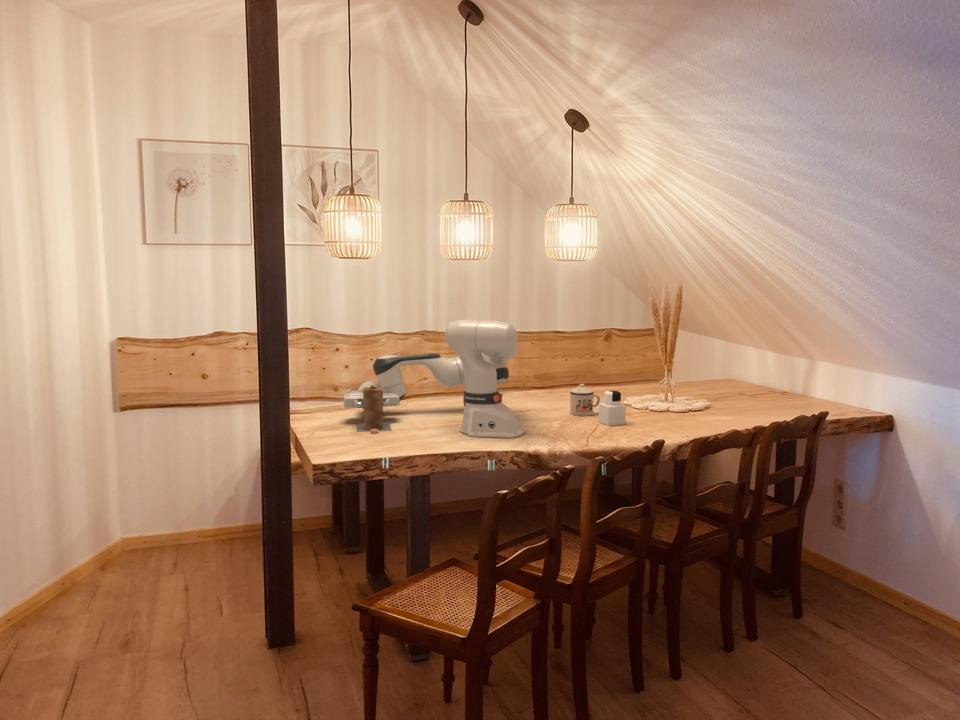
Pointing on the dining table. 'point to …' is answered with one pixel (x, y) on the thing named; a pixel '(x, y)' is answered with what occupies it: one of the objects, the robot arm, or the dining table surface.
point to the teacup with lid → (582, 401)
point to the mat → (361, 429)
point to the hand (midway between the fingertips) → (372, 404)
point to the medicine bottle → (612, 409)
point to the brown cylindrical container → (373, 407)
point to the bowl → (374, 431)
